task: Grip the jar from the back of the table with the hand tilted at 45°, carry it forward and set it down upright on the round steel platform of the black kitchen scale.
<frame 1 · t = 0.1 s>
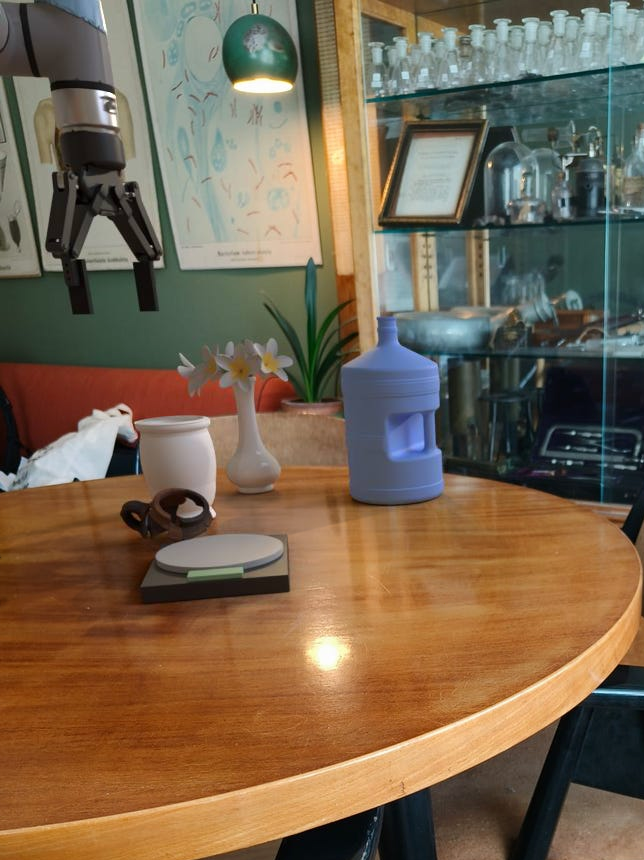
hand: (118, 313, 119), 30 cm above the table, tool pointing down, fingers open, 13 cm apart
water jug: (397, 496, 147), on the table
pottery mug: (171, 543, 122), on the table
jar: (187, 521, 135), on the table
flower vase: (251, 492, 154), on the table
scale: (222, 573, 107), on the table
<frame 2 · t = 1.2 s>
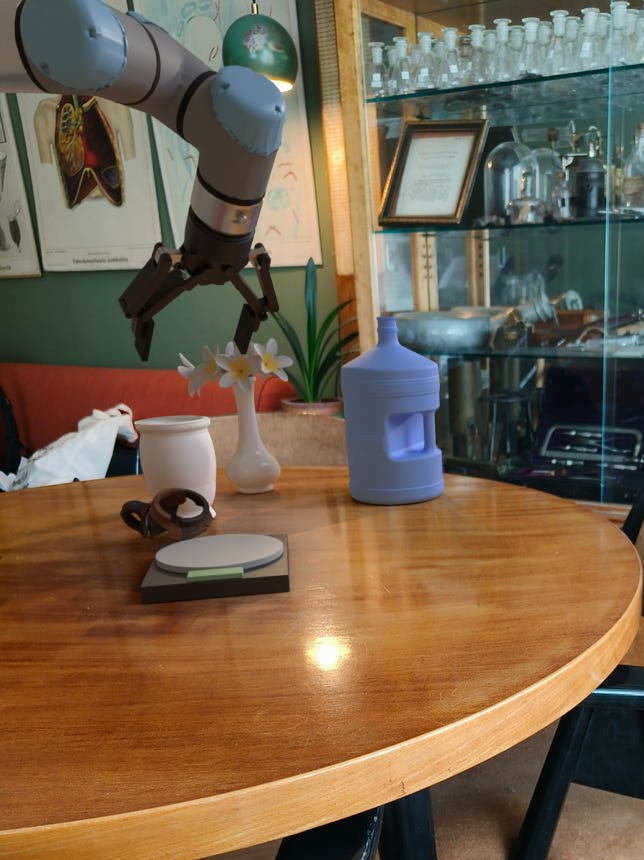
hand: (192, 350, 117), 25 cm above the table, tool tilted 45°, fingers open, 13 cm apart
nothing on the table moved.
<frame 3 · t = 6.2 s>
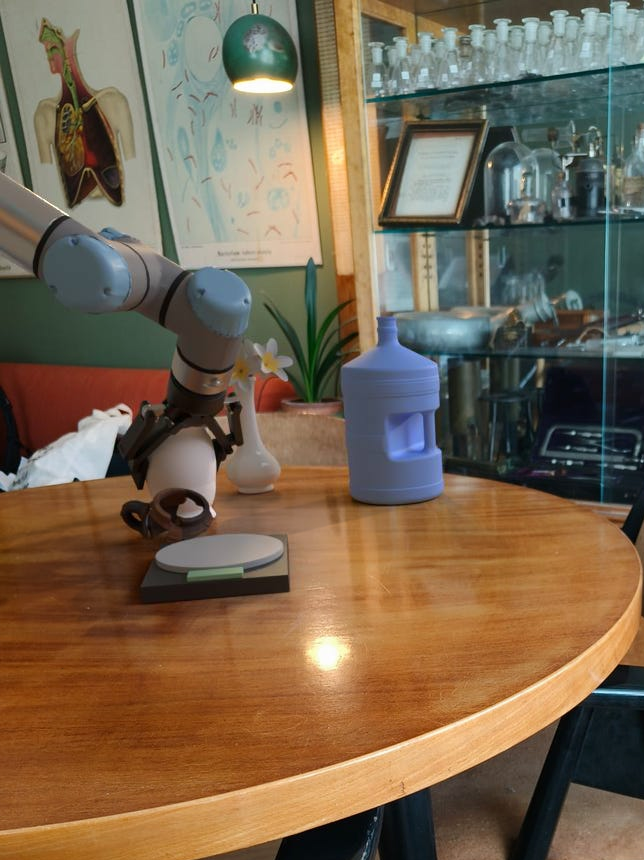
hand: (174, 477, 134), 6 cm above the table, tool tilted 45°, fingers closed on jar, 11 cm apart
jar: (187, 520, 135), on the table, touching gripper
everything else where it was.
when the fingers open (9 cm above the table, at t = 16.2 s): jar stays where it is, resting on scale.
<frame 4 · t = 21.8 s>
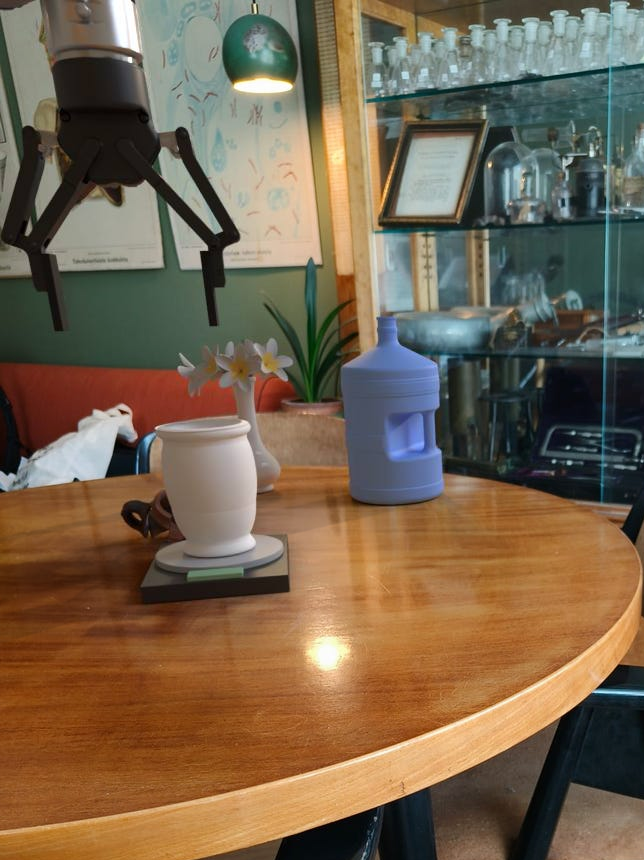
hand: (139, 328, 83), 29 cm above the table, tool pointing down, fingers open, 13 cm apart
jar: (220, 550, 107), point 3 cm above the table, touching scale
everything else where it was.
at the end: jar inside the target area on the scale (0.1 cm from its centre), point 2.6 cm above the scale's base; jar tilted 0°; the gripper is holding nothing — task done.
